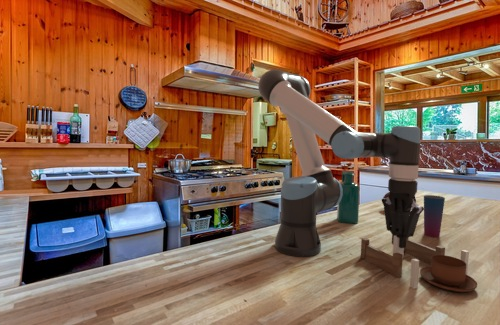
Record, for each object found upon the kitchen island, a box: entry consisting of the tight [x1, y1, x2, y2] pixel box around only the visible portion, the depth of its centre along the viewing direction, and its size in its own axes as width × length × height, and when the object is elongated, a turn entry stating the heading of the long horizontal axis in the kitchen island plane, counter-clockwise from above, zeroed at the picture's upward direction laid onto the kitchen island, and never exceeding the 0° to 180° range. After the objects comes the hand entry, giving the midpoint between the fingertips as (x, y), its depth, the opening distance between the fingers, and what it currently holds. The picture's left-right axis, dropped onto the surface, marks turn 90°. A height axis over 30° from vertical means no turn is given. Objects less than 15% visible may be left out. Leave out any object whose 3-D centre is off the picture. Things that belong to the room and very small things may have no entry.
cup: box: [423, 194, 446, 238], centre depth 110 cm, size 7×7×15 cm
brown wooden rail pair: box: [360, 237, 446, 278], centre depth 85 cm, size 18×14×6 cm
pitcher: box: [336, 170, 361, 224], centre depth 128 cm, size 10×8×22 cm
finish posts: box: [409, 249, 470, 290], centre depth 73 cm, size 19×1×7 cm, turn 110°
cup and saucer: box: [419, 254, 478, 293], centre depth 73 cm, size 12×12×6 cm
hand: (397, 256), depth 86 cm, fingers closed
